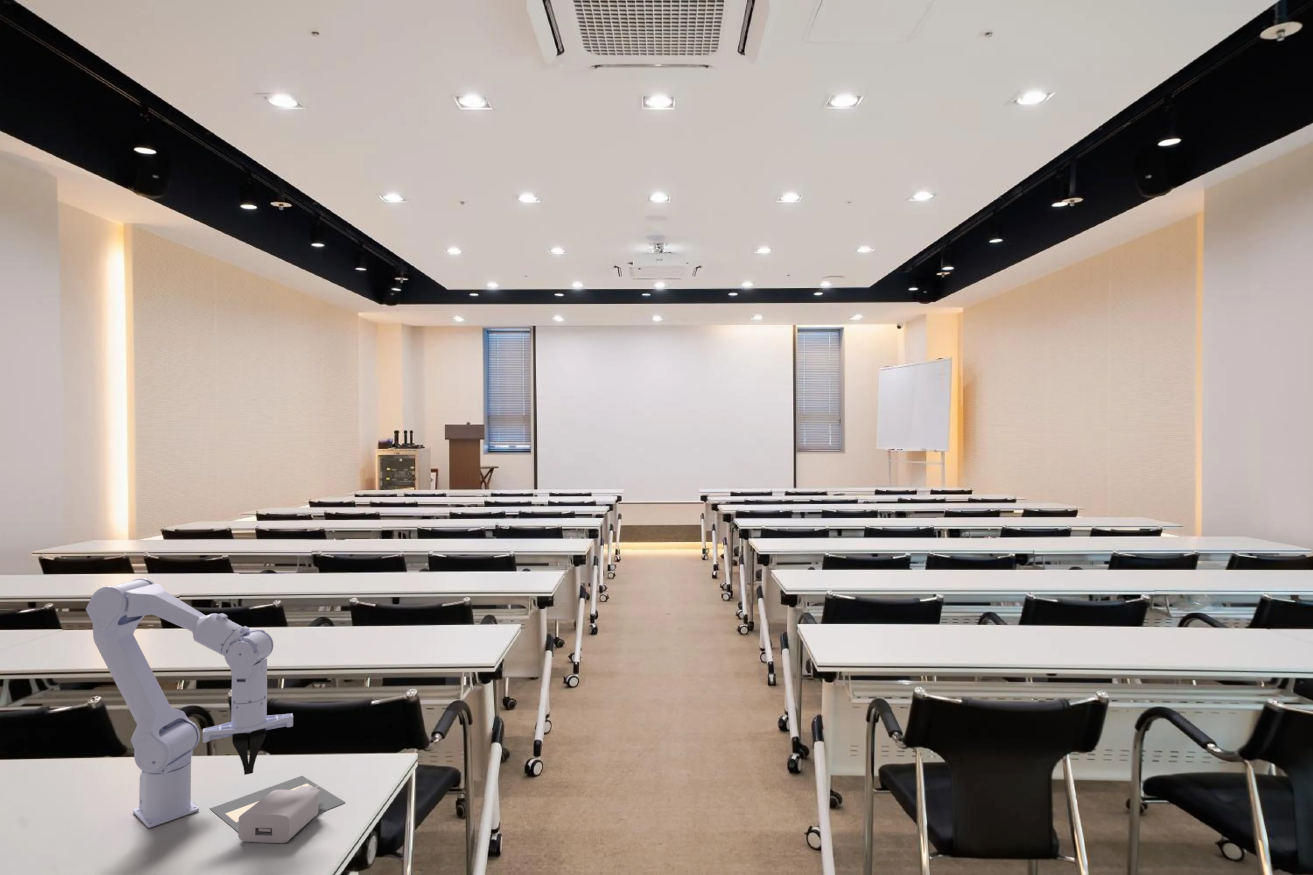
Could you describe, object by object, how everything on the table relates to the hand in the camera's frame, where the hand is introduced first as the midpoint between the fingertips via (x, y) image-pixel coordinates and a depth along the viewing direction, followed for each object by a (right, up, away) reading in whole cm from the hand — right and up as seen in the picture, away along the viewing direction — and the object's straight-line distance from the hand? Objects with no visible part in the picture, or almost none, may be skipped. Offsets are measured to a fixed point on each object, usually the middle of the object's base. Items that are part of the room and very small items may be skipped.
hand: (248, 771), depth 129 cm
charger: (+9, -7, -3) cm, 12 cm away
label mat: (+4, -7, +2) cm, 9 cm away
